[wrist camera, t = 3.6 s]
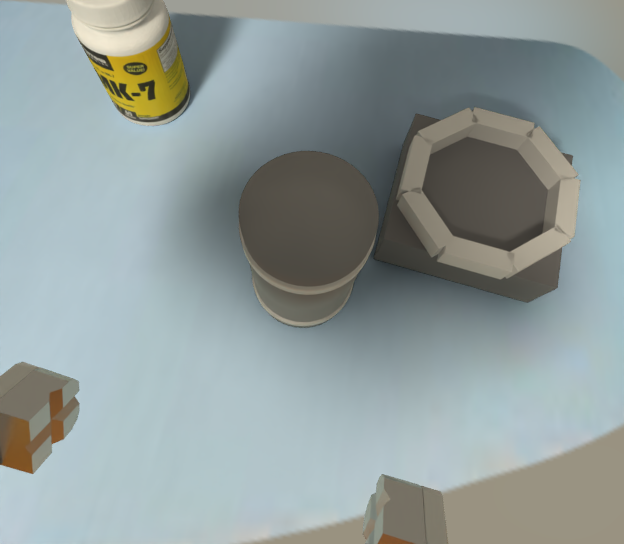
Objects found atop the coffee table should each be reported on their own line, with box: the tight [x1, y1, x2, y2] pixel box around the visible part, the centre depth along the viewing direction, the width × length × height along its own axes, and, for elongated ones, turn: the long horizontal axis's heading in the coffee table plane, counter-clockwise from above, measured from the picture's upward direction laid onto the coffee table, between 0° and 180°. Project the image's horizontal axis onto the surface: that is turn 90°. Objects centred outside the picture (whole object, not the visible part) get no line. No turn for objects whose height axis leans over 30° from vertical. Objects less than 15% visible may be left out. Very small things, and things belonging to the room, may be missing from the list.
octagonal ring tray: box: [374, 107, 580, 303], centre depth 25 cm, size 9×9×4 cm
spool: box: [239, 151, 379, 328], centre depth 21 cm, size 5×5×9 cm
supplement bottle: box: [66, 0, 190, 126], centre depth 25 cm, size 5×5×8 cm
